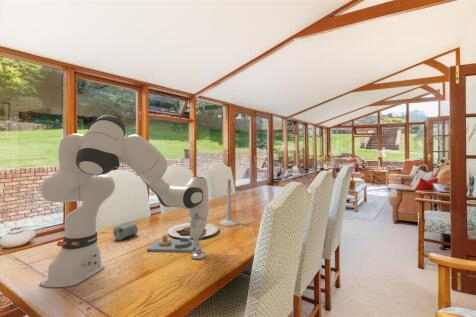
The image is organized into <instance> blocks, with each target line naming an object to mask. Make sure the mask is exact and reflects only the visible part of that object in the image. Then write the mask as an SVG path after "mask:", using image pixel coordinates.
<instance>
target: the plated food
mask: <svg viewBox="0 0 476 317" xmlns="http://www.w3.org/2000/svg"><path fill="white" fill-rule="evenodd" d="M218 232H219V227H218V226H217V225H215V224H213V223H206V227H205V228H204V231H203V238H206V237H209V236H210V237H211V236H213V235H215V234H217V233H218ZM167 235H169V236H171V237H173V238H178V239H180V238H189V239H190V240H193V238H190V222H186V223H179V224H176V225H173V226H171V227H169V228H168V230H167Z"/></svg>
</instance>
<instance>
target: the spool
mask: <svg viewBox="0 0 476 317" xmlns="http://www.w3.org/2000/svg"><path fill="white" fill-rule="evenodd" d="M112 232H113V236H114V238H115V239H116V240H117V241H123V240H124V239H126V238H130V237H131V236H135V235H137V233H138V226H137V224H136V222H134V221H127V222H123V223H121V224H118V225H116V226H115V227H114V228H113V231H112Z"/></svg>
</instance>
